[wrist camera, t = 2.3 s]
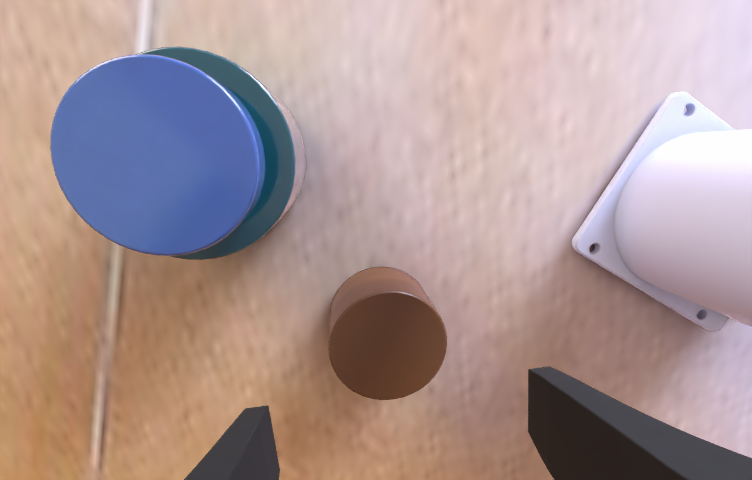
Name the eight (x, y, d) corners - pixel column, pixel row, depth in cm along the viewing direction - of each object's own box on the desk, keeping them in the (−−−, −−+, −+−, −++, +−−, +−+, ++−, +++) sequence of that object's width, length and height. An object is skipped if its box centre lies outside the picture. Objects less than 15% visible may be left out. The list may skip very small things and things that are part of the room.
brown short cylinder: (446, 293, 18) (469, 323, 15) (397, 373, 18) (409, 417, 15) (361, 248, 17) (366, 270, 14) (312, 333, 17) (306, 372, 14)
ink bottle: (333, 128, 16) (330, 113, 10) (263, 260, 16) (221, 319, 11) (184, 40, 14) (75, -39, 8) (118, 188, 15) (-23, 210, 9)
